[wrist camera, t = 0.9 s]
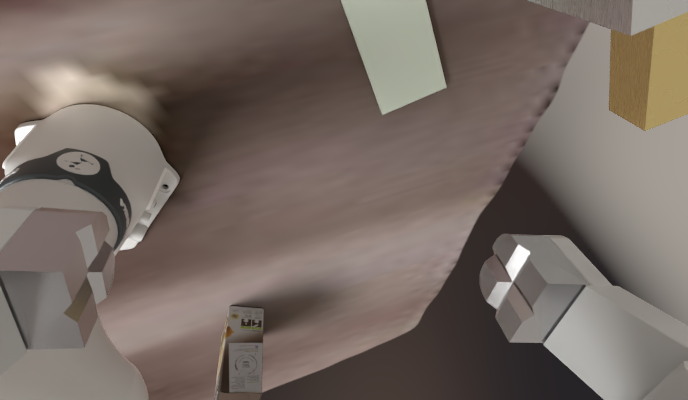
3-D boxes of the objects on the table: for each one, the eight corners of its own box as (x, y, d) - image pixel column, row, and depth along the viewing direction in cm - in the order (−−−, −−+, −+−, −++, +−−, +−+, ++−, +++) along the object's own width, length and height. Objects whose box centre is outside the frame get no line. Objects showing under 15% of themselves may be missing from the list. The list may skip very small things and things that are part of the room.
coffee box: (228, 304, 71) (219, 391, 58) (264, 307, 73) (263, 392, 60) (220, 337, 76) (210, 424, 63) (254, 339, 78) (251, 424, 65)
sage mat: (444, 85, 53) (446, 87, 52) (381, 112, 54) (382, 114, 53) (396, -111, 40) (399, -112, 40) (315, -71, 41) (315, -71, 41)
